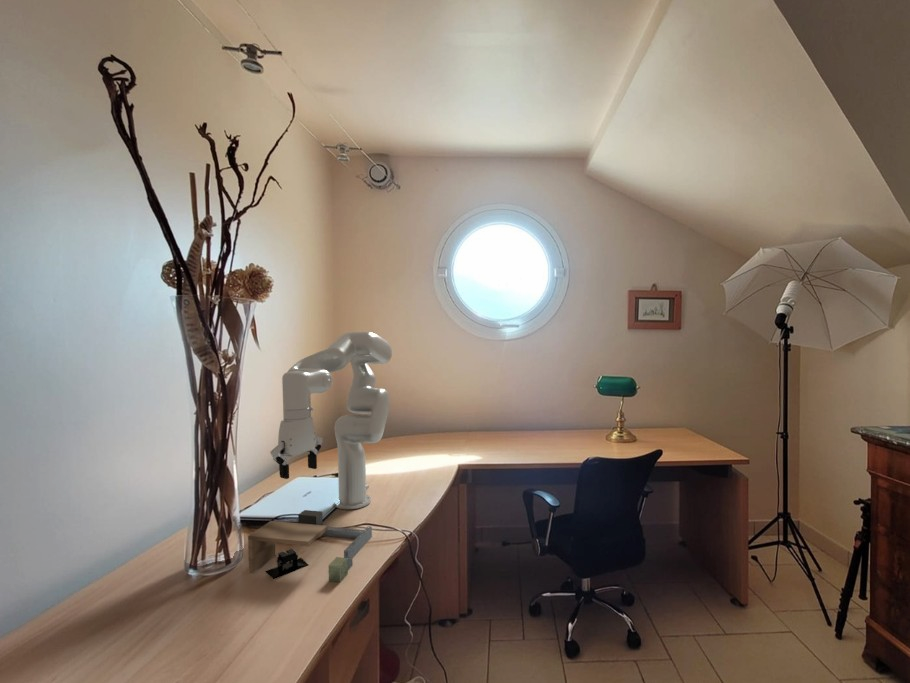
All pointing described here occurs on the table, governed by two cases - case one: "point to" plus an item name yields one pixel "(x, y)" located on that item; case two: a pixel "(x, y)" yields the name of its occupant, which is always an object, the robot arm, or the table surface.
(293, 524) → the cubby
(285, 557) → the black phone stand
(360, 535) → the grey angular bent frame
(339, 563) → the pale green block
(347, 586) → the table surface
